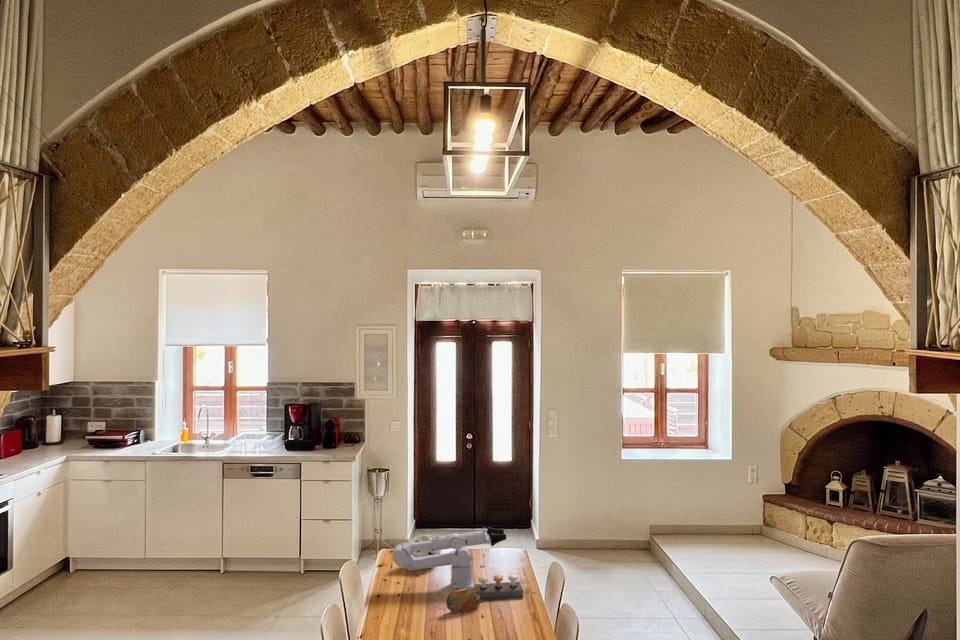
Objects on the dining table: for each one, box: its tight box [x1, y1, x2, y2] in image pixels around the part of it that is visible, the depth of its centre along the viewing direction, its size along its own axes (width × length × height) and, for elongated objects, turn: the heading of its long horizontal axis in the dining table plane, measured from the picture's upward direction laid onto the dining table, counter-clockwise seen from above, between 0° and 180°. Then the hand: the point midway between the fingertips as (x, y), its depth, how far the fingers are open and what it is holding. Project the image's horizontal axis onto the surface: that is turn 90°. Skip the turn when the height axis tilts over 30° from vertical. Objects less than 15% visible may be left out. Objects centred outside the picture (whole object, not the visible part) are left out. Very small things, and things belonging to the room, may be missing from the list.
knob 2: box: [507, 573, 519, 587], centre depth 283 cm, size 4×4×4 cm
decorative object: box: [408, 534, 442, 558], centre depth 319 cm, size 15×19×15 cm
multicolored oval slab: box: [445, 587, 482, 614], centre depth 267 cm, size 15×3×8 cm, turn 117°
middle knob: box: [493, 574, 504, 588], centre depth 282 cm, size 4×4×4 cm
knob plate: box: [473, 581, 524, 601], centre depth 282 cm, size 20×10×3 cm, turn 95°
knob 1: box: [478, 575, 489, 589], centre depth 281 cm, size 4×4×4 cm
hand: (504, 534), depth 296 cm, fingers open, 7 cm apart
